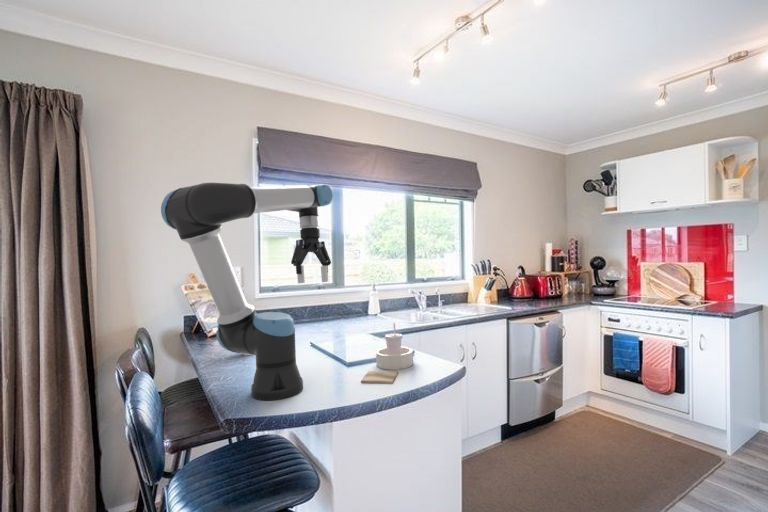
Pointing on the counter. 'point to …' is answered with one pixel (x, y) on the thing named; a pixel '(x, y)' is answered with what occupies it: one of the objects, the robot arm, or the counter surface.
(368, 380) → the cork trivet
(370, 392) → the counter surface
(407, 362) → the bowl
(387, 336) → the smoothie
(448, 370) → the counter surface
